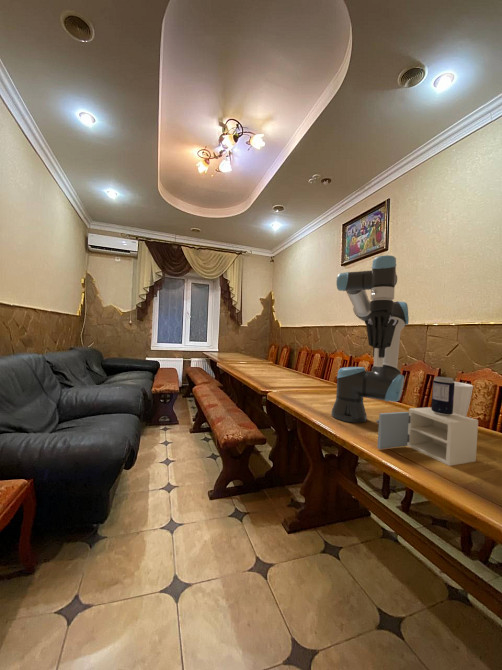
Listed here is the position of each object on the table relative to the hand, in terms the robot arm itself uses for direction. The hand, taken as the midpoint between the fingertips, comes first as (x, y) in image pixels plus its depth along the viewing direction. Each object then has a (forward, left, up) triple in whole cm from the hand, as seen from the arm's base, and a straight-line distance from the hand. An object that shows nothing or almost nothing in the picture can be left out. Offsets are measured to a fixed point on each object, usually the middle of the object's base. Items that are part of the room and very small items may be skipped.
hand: (378, 366), depth 92 cm
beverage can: (+12, +15, -14) cm, 24 cm away
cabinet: (+12, +15, -27) cm, 33 cm away
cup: (+5, +31, -27) cm, 42 cm away
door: (+6, +3, -26) cm, 27 cm away
